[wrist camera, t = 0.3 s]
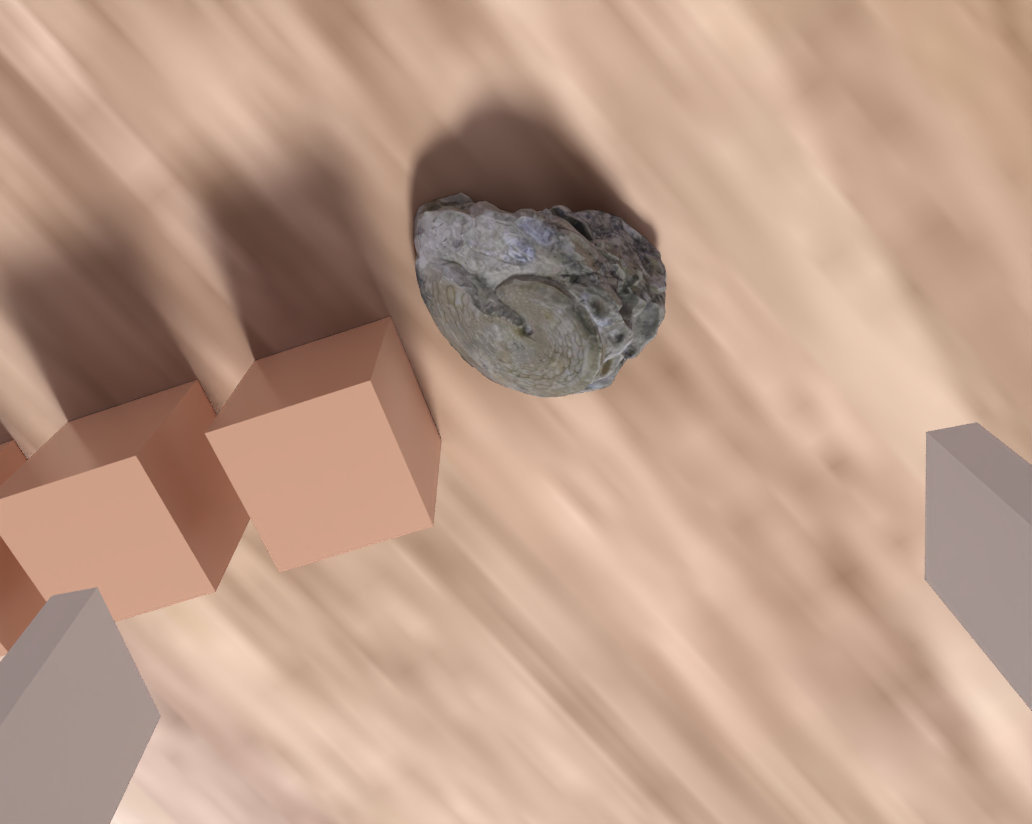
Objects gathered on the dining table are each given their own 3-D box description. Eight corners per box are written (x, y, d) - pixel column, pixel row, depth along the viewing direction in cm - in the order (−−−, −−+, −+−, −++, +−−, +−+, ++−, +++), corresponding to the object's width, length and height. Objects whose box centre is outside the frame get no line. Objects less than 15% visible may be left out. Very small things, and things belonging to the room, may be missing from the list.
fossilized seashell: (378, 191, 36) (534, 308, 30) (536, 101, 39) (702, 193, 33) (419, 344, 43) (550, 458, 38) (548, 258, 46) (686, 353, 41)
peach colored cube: (254, 360, 40) (204, 433, 33) (390, 316, 40) (370, 380, 32) (313, 481, 43) (279, 572, 36) (441, 441, 42) (433, 526, 35)
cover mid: (67, 421, 41) (-21, 505, 34) (197, 379, 41) (135, 455, 33) (137, 535, 44) (69, 635, 37) (260, 497, 43) (215, 591, 36)
